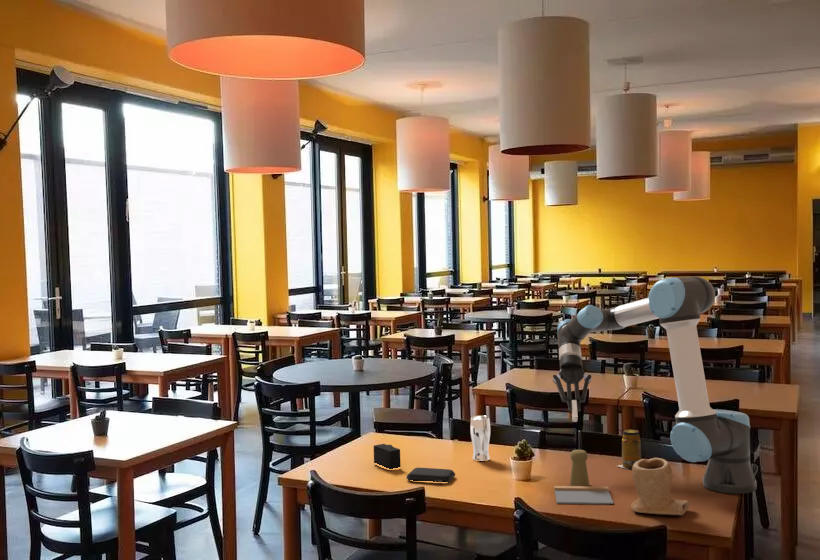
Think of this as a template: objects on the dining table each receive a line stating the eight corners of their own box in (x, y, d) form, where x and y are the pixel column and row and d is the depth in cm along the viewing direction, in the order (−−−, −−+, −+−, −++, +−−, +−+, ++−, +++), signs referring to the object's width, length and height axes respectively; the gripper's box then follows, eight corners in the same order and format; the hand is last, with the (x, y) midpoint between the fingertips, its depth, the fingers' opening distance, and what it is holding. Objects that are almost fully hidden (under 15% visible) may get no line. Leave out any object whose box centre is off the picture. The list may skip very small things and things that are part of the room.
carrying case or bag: (403, 484, 253) (448, 487, 249) (403, 474, 253) (447, 477, 248) (413, 474, 263) (456, 477, 259) (413, 465, 263) (456, 468, 259)
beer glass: (494, 458, 279) (493, 416, 279) (485, 463, 273) (484, 420, 273) (476, 456, 283) (475, 414, 282) (467, 461, 277) (466, 418, 276)
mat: (554, 489, 242) (554, 485, 242) (607, 490, 240) (607, 486, 240) (556, 503, 229) (556, 499, 229) (613, 504, 227) (613, 500, 227)
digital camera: (403, 468, 270) (403, 448, 270) (390, 471, 267) (390, 451, 267) (387, 462, 279) (386, 442, 278) (374, 465, 275) (373, 445, 275)
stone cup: (627, 517, 216) (626, 463, 215) (633, 504, 227) (633, 452, 226) (686, 523, 210) (685, 467, 209) (689, 509, 221) (689, 456, 220)
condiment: (629, 462, 270) (628, 427, 269) (650, 467, 263) (650, 431, 263) (616, 466, 265) (615, 431, 265) (638, 471, 259) (637, 435, 258)
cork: (590, 483, 247) (589, 448, 247) (588, 489, 242) (587, 453, 241) (571, 481, 249) (570, 447, 249) (568, 487, 244) (567, 452, 243)
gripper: (589, 366, 272) (595, 425, 256) (550, 366, 273) (554, 425, 258) (590, 353, 266) (596, 413, 251) (551, 353, 268) (555, 412, 252)
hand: (575, 419), depth 254 cm, fingers closed
